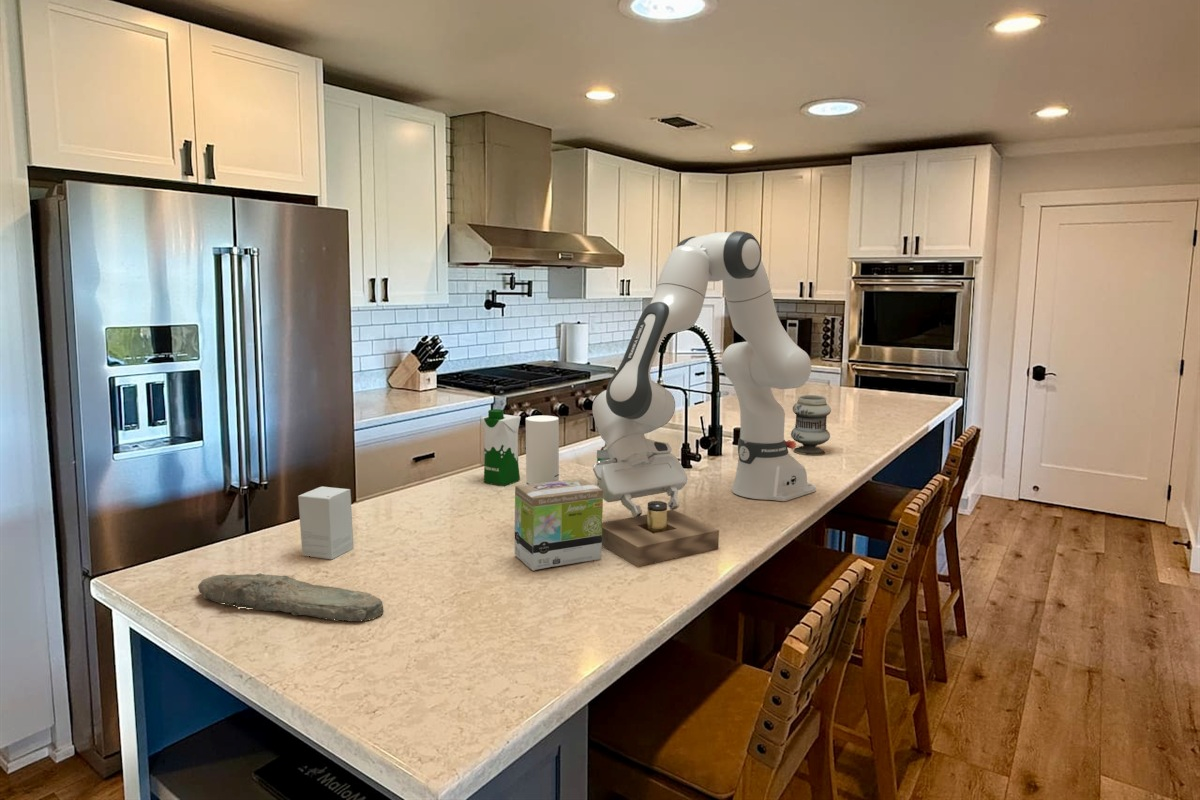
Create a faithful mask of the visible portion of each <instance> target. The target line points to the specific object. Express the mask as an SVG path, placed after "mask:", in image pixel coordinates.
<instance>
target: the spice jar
mask: <svg viewBox="0 0 1200 800" xmlns="http://www.w3.org/2000/svg"><path fill="white" fill-rule="evenodd" d="M667 511H668V502H665V501H661V500H654V501H653V500H652V501H649V502H647V514H646V515H647V531H649V532H651V533H658V532H663V531H666V529H667Z"/></svg>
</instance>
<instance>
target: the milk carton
mask: <svg viewBox="0 0 1200 800" xmlns="http://www.w3.org/2000/svg"><path fill="white" fill-rule="evenodd" d="M487 412H488V415H486V416H483V417H480V420H481V425H482V431H483V449H484V450H483V452H484V454H483V456H484V458H483V459H484V467H483V468H484V469H483V483H485V482H486V484H490V483H492V484H491V485H495V484H496V486H500V485H502V486H501V487H505V485H506V486H508V485H511V484H514V483H516V482H515V481H517V482H519V481H518V480H520V481H521V474H520V469H519V467H520V466H519V428H520V421H521V416H520V415H519V416H518V415H512V414H511V415H510V414H504V410H503V409H497V408H496V409H495V408H494V409H489V410H488V411H487ZM513 482H514V483H513ZM510 483H511V484H510ZM507 484H508V485H507Z"/></svg>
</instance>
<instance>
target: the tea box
mask: <svg viewBox="0 0 1200 800" xmlns="http://www.w3.org/2000/svg"><path fill="white" fill-rule="evenodd" d="M603 500H604V499H603V490H602V489H600V488H599V486H598V485H597V486H596V485H595V484H593V483H591V482H589V481H587V480H586V479H584V478H582V477H581V478H571V479H564V480H562V479H561V480H559V481H553V482H544V483H536V484H527V485H526V484H519V485H515V489H514V555H515V556H516V557H517V558H518V559H519V560H520V561H521V562H522V563H523V564H524V565H525V566H527V568H528V569H530V570H531V571H532V572H534V571H537V570H542V569H548V568H551V567H552V568H553V567H559V566H567V565H572V564H577V563H578V564H579V563H586V562H592V561H593V560H594V561H599V560H598V559H600V560H601V559H602V548H603V546H602V523H603V511H604V509H603V506H604V505H603V503H604V501H603Z"/></svg>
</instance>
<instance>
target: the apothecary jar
mask: <svg viewBox="0 0 1200 800" xmlns="http://www.w3.org/2000/svg"><path fill="white" fill-rule="evenodd" d="M831 411H832V409H831V407H830V405H829V404H827V398H826V397H825V396H823V395H812V394H811V395H809V394H807V395H805V394H804V395H800V396H798V398H797V402H796V403H794V405H793V406H792V412H793V414H795V424H794V425H795V426H794V428H792V430H791V432H790V436H791V438H792V439H793V440H794V441H795V443H796V442H797V443H799V444H801V445H802V446H801V445H800V446H798V447H795V448H794V449H793V452H794V453H796V454H799V455H803V456H817V457H818V456H823V455H825V454H826V451H825V450H824V449H821V448H820V447H819V445H823V444H825V443H827V442H828V441H829V440H830V438H831V433H830V432H829V431H828V429H827V418H828V416H829V415H830V414H831ZM817 446H818V447H817Z"/></svg>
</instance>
